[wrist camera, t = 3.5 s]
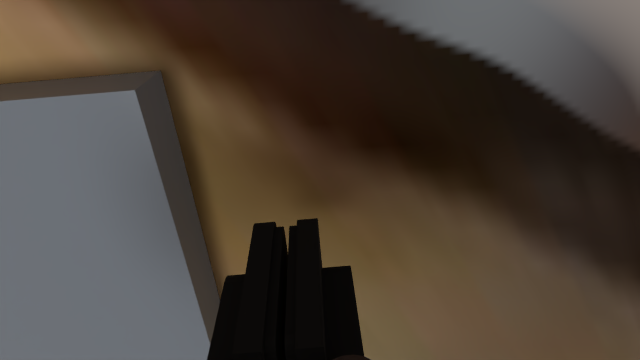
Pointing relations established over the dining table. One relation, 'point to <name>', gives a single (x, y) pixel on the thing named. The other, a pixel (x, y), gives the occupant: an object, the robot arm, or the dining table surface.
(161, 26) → the dining table surface
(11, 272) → the slate tile
